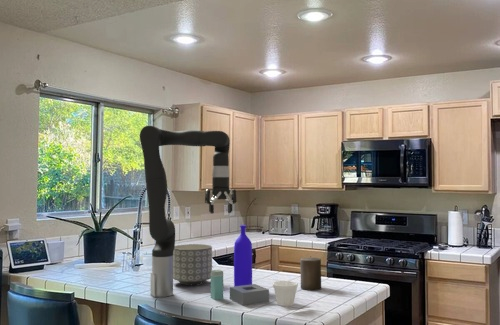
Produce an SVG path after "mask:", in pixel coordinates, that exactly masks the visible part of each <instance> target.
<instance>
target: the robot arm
mask: <svg viewBox="0 0 500 325" xmlns="http://www.w3.org/2000/svg"><path fill="white" fill-rule="evenodd" d="M139 141H140V146H141V150H142V155H143V163H144V164H143V166H144V177H145V186H146V194H147V203H148V220H149V221H148V226H149V228H148V229H149V235H150V236H151V239H153V240H154V241H155V244H154V247H153V248H152V249H151V250H152V251H151V272H150V296H152V297H153V298H163V297H171V296H172V295H174V279H173V251H174V248H175V246H176V226H175V224H174V222H173V221H172V220H171V219H168V218H167V217H166V209H165V208H166V201H167V195H168V180H167V174H166V173H167V172H166V170H165V167H164V164H163V161H162V159H161V155H160V147H164V146H186V147H187V146H188V147H214V154H213V156H212V171H211V172H212V174H211V176H212V183H211V184H212V186H211V187H212V189H205V191H204V192H205V196H204V203H205V204H207V205H208V212H209V214H212V215H213V214H214V212H215V210H214V208H215V207H214V206H215V205H214V204H215V202H216V201H217V200H225V201H226V202H227V213H228V214H231V213H232V212H233V204H235V203H237V202H238V201H237V190H236V189H234V188H233V189H230V167H229V166H230V163H229V162H230V159H229V158H230V157H229V153H230V144H231V143H230V142H231V141H230V137H229V134H228V133H226V132H224V131H221V130H206V131H205V130H179V131H178V130H177V131H175V130H174V131H172V130H166V129H160V128H158V127H156V126H154V125H145V126H143V127H142V128H141V130H140V132H139ZM211 195H212V197H211ZM230 195H231V197H230Z"/></svg>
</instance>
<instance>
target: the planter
mask: <svg viewBox="0 0 500 325" xmlns="http://www.w3.org/2000/svg"><path fill="white" fill-rule="evenodd" d="M211 270H213V246H212V245H211V244H202V243H200V244H199V243H189V244H187V243H185V244H178V245H175V248H174V251H173V281H177V282H179V283H180V284H183V285H185V286H190V287H191V286H193V287H194V286H199V285H202V284H204V283H206V282H207V281H209V280H211Z"/></svg>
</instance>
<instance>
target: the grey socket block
mask: <svg viewBox="0 0 500 325" xmlns="http://www.w3.org/2000/svg"><path fill="white" fill-rule="evenodd" d="M229 300H230V301H233V302H234V303H237V304H238V305H241V306H250V305H252V306H253V305H258V304H259V305H260V304H263V303H265V304H266V303H270V290H269V289H268V288H266V287H263V286H261V285H258V284H256V283H252V284H251V285H242V286H234V285H233V286H229Z"/></svg>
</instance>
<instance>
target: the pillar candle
mask: <svg viewBox="0 0 500 325" xmlns="http://www.w3.org/2000/svg"><path fill="white" fill-rule="evenodd" d="M299 265H300V267H299V269H300V289H301V290H305V291H318V290H319V291H320V290H322V259H321V258H318V257H312V256H310V257H301V258H300V263H299Z"/></svg>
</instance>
